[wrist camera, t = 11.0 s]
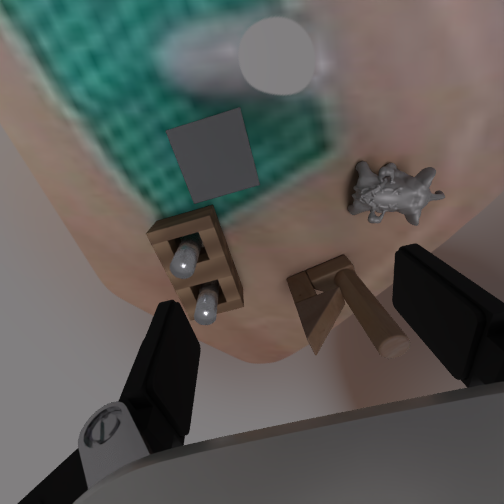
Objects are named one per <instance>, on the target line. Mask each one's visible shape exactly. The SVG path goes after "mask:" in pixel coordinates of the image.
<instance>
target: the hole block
mask: <svg viewBox="0 0 504 504" xmlns="http://www.w3.org/2000/svg"><path fill="white" fill-rule="evenodd" d="M196 232H199V234H200V237H201V239H202V242H203V244H204V247H203V248H201V250H200V254H199V257H198V261H197V264H196V268H195V271H194V274H193V275H192V276H191V277H189V278H186V279H180V278H177V277H175V276H174V275H173V274H172V273H171V271H170V264H171V262H172V259H173V257H174V255H175V253H176V251H177V249H178V247H179V245H180V243H181V239H180V237H182V236H186V235H189V234H193V233H196ZM146 235H147V237H148V239H149V241H150V242H151V244H152V246H153V248H154V250H155V252H156V254H157V256H158V258H159V260H160V262H161V264H162V266H163V268H164V270H165V271H166V273H167V275H168V277H169V279H170V281H171V283H172V285H173V287H174V289H175V291H176V293H177V295H178V297H179V298H180V300H181V302H182V304H183V306H184V308H185V310H186V312H187V314H188V316H189V318H190V320H195V319H194V313H195V309H196V304H197V300H198V295H199V291H200V286H201V284H202V283H206V282H210V281H213V280H217V279H218V281H219V284H220V286H219V294H218V304H217V314H218V313H222V312H226V311H230V310H234V309H238V308H242V307H244V300H243V287H242V285H241V282H240V279H239V276H238V273H237V271H236V268H235V265H234V262H233V260H232V257H231V254H230V251H229V248H228V246H227V243H226V240H225V237H224V234H223V232H222V229H221V226H220V223H219V220H218V218H217V215H216V212H215V209H214V206H213V205H210V206H207V207H204V208H200V209H197V210H193V211H190V212H186V213H183V214H179V215H176V216H172V217H169V218H166V219H162V220H159V221H156V222H155V224H154V225H153V226H152V227H151V228H150V230H149V231H148V232H147V233H146Z"/></svg>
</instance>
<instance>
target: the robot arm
mask: <svg viewBox="0 0 504 504" xmlns="http://www.w3.org/2000/svg"><path fill="white" fill-rule="evenodd" d="M392 301H393V305H394V307H395V309H396V310H397V311H398V312H399V313H400V315H401V316H402V317H403V318H404V319H405V321H406V322H407V323H408V324H409V325H410V326H411V328H412V329H413V330H414V331H415V332H416V333H417V334H418V336H419V337H420V338H421V339H422V340H423V342H424V343H425V344H426V345H427V346H428V347H429V349H430V350H431V351H432V352H433V353H434V354H435V356H436V357H437V358H438V359H439V360H440V362H441V363H442V364H443V365H444V366H445V367H446V369H447V370H448V371H449V372H450V373H451V374H452V376H454V378H456V379H458V380H461V381H462V382H463V383H464V384H465V385H466V386H467V388H464V389H458V390H453V391H448V392H443V393H437V394H433V395H427V396H422V397H417V398H412V399H407V400H402V401H397V402H392V403H387V404H381V405H376V406H371V407H366V408H361V409H357V410H352V411H346V412H341V413H336V414H331V415H327V416H322V417H316V418H311V419H307V420H301V421H297V422H292V423H287V424H282V425H278V426H272V427H267V428H263V429H258V430H253V431H248V432H243V433H239V434H234V435H229V436H224V437H219V438H215V439H211V440H206V441H202V442H198V443H193V444H188V445H184V438H185V435H188V433H189V430H190V423H191V416H192V409H193V402H194V395H195V387H196V380H197V373H198V366H199V358H200V344H199V342H198V340H197V338H196V336H195V333H194V331H193V329H192V327H191V325H190V323H189V321H188V319H187V317H186V315H185V313H184V311H183V309H182V307H181V305H180V303H179V302H175V301H174V300H169V301H165V302H160V303H159V304H158V307H157V309H156V312H155V314H154V317H153V319H152V322H151V325H150V327H149V330H148V332H147V334H146V337H145V339H144V340H143V342H142V344H141V347H140V349H139V352H138V354H137V357H136V359H135V362H134V364H133V366H132V369H131V372H130V374H129V377H128V379H127V381H126V384H125V386H124V389H123V392H122V394H121V396H120V399H119V401H118V402H111V403H109V404H107V405H104V406H103V407H102V408H100V409H99V410H98V411H96V412H95V413H94V414H93V415H92V416H91V417H90V418H89V420H88V421H87V422H86V423H85V425H84V427H83V429H82V430H81V432H80V436H79V439H78V449H77V450H76V451H74V452H73V453H72V454H71V455H70V456H69V457H68V458H67V459H66V460H65V461H63V462H62V463H61V464H60V465H59V466H58V467H57V468H56V469H55V470H54V471H53V472H51V473H50V475H48V476H47V477H46V478H45V479H44V480H43V481H42V482H41V483H39V484H38V485H37V486H36V487H35V488H34V489H33V490H32V491H31V492H30V493H29V494H28V495H26V496H25V497H24V498H23V499H22V500H21V501H20V502H19V503H18V504H504V303H503V302H502V301H500V300H499V299H497V298H496V297H494V296H493V295H491V294H490V293H488V292H487V291H486V290H484V289H483V288H481V287H480V286H478V285H477V284H475V283H474V282H472V281H471V280H470V279H468V278H467V277H465V276H464V275H462V274H461V273H459V272H458V271H456V270H455V269H453V268H452V267H451V266H449V265H448V264H446V263H445V262H443V261H442V260H440V259H439V258H437V257H436V256H434V255H433V254H431V253H430V252H429V251H427V250H426V249H424V248H423V247H421V246H420V245H418V244H410V245H406V246H402V247H400V248H399V251H397V252H396V253H395V264H394V281H393V298H392ZM183 445H184V446H183Z"/></svg>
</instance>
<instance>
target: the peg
mask: <svg viewBox="0 0 504 504" xmlns="http://www.w3.org/2000/svg"><path fill="white" fill-rule="evenodd" d="M202 243H203V242H202V239H201V237H200V234H199V232H196V233H193V234H189V235H186V236H183V238H182V241H181V243H180V245H179V247H178V249H177V251H176V253H175V255H174V257H173V259H172V262H171V264H170V271H171V273H172V274H173V275H174V276H175V277H177V278H180V279H186V278H189V277H191V276H192V275H193V274H194V271H195V268H196V264H197V261H198V257H199V254H200V250H201V247H202Z"/></svg>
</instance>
